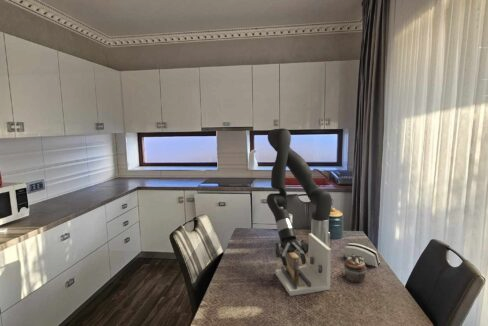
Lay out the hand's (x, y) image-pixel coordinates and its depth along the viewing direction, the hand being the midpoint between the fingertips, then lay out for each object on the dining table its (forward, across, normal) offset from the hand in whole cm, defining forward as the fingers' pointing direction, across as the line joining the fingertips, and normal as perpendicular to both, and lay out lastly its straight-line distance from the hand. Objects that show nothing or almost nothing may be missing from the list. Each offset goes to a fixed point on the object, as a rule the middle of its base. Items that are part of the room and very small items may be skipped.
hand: (295, 264), depth 129 cm
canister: (-24, +43, +36) cm, 61 cm away
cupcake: (+8, +28, +4) cm, 29 cm away
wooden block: (+2, 0, +6) cm, 7 cm away
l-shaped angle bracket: (+6, +3, +6) cm, 9 cm away
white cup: (-36, +19, +48) cm, 62 cm away
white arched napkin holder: (0, +40, +12) cm, 42 cm away
